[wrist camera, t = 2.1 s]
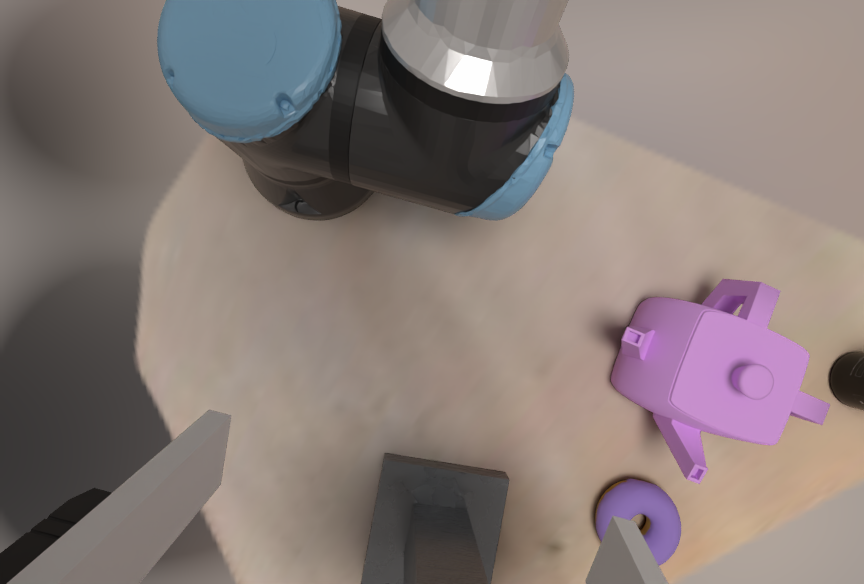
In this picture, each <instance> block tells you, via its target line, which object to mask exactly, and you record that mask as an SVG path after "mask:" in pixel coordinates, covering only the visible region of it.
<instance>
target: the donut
mask: <svg viewBox="0 0 864 584" xmlns="http://www.w3.org/2000/svg"><path fill="white" fill-rule="evenodd" d="M637 514H644V515H645V516H646V524H645V526H644V527H643V529H642V530H640V532H641V534H642V536H643V538H644V539H645V541H646V543H647V545H648V547H649V549H650V551H651V552H652V554H653V556H654V558H655V560H656V562H657V564H658V565H661V564H663V563H664V562H666V561H667V560H668V559H669V558H670V557H671V556H672V554H673V553H674V552H675V550H676V548H677V546H678V544H679V540H680V536H681V522H680V517H679V514H678V511H677V508H676V506H675V504H674V503H673V501H672V500H671V498H670V497H669V496H668V495H667V493H665V492H664V491H663V490H662V489H661V488H659V487H658V486H657V485H654V484H651V483H649V482H646V481H642V480H636V479H627V480H624V481H620V482H618V483H616V484H614V485H612V486H611V487H610V488H608V489H607V490H606V491H605V493H604V494H603V495H602V497H601V498H600V500H599V502H598V505H597V509H596V514H595V524H596V530H597V534H598V536H599V538H600V540H601V542H602V540H603V537H604V535H605V533H606V530H607V528H608V525H609V523H610V520H611V518H612V516H616V517H620V518H624V519H627V520H631V519H632V518H633V517H634V516H635V515H637Z"/></svg>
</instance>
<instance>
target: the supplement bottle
mask: <svg viewBox="0 0 864 584" xmlns="http://www.w3.org/2000/svg"><path fill="white" fill-rule="evenodd" d="M830 381H831V387H832V390H833V392H834V394H835V396H836V397H837V398H838V399H839V400H840V401H841V402H842V403H844V404H845V405H847V406H850V407H853V408H856V409H860V410H864V352H853V353H849V354H847V355H845V356H843V357H842V358H840V359H839V360H838V361H837V362H836V364H835V365H834V367H833V369H832V372H831V378H830Z"/></svg>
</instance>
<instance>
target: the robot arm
mask: <svg viewBox="0 0 864 584" xmlns="http://www.w3.org/2000/svg"><path fill="white" fill-rule="evenodd" d="M567 3H568V0H388V1H387V2H386V4H385V6H384V10H383V14H382V19H380V18H376V17H373V16H369V15H366V14H363V13H359V12H356V11H353V10H349V9H346V8H343V7H339V6H337V3H336V0H166V2H165V5H164V7H163V10H162V13H161V17H160V21H159V26H158V37H157V46H158V56H159V61H160V65H161V69H162V72H163V75H164V77H165V79H166V82H167V84H168V86H169V87H170V89H171V91H172V92H173V94H174V96H175V97H176V98H177V100H178V101H179V102H180V103H181V105H182V106H183V107H184V108H185V109H186V110H187V111H188V112H189V114H190V116H191V117H192V118H193V119H194V121H195V122H196V123H198V124H199V125H200V127H201V128H202V129H205V130H206V131H207V132H208V133H209V134H211V135H214V136H215V137H217V138H218V139H219V140H220V141H222V142H223V143H224V144H225V145H227V146H228V147H229V148H230V149H232V150H233V151H234V152H235V153H237V154H238V155H239V156H240V157H242V158H243V162H244V166H245V169H246V171H247V173H248V176H249V177H250V179H251V181H252V183H253V184H254V186H255V187H256V188H257V190H258V191H259V192H260V193H261V194H262V195H263V196H264V197H265V198H266V199H267V200H268V201H269V202H271V203H272V204H273V205H275V206H276V207H278V208H279V209H281V210H283V211H284V212H286V213H288V214H291V215H293V216H296V217H299V218H303V219H309V220H327V219H333V218H337V217H340V216H343V215H345V214H347V213H349V212H351V211H353V210H355V209H356V208H358V207H359V206H360V205H361V204H363V203H364V202H365V201H366V200H367V199H368V198H369V197H370V195H371V194H372V193H373V191H375V192H378V193H382V194H385V195H389V196H392V197H396V198H400V199H403V200H407V201H410V202H414V203H417V204H421V205H424V206H428V207H431V208H435V209H438V210H442V211H445V212H449V213H452V214H454V215H457V216H462V217H463V216H471V217H476V218H481V219H486V220H495V221H496V220H502V219H505V218H508V217H510V216H512V215H513V214H515V213H516V212H517V211H519V210H520V209H521V208H522V207H523V206H524V205H525V204H526V203H527V201H528V200H529V199H530V198H531V197H532V195H533V194H534V193H535V191H536V190H537V188H538V187H539V185H540V184H541V182H542V181H543V179H544V177H545V176H546V174H547V172H548V170H549V168H550V167H551V164H552V161H553V153H554V152H555V151H556V149H557V148H558V147H559V146H560V144H561V142H562V140H563V137H564V135H565V132H566V130H567V126H568V123H569V120H570V116H571V111H572V107H573V99H574V86H573V83H572V80H571V78H570V77H569V76H568V75H567V74H566V73H565V71H566V69H567V66H568V61H569V52H568V46H567V43H566V40H565V38H564V36H563V33H562V31H561V28H560V26H559V22H560V19H561V17H562V14H563V12H564V9H565V7H566V5H567ZM230 422H231V415H228V414H224V413H220V412H216V411H212V410H208V411H207V412H206V413H205V414H204V415H203V416H201V417H200V418H199V419H198V420H197V421H196V422H194V423H193V424H192V425H191V426H190V427H189V428H187V429H186V430H185V431H184V432H183V433H182V434H180V435H179V436H178V437H177V438H176V439H175V440H173V441H172V442H171V443H170V444H169V445H168V446H166V447H165V448H164V449H163V450H162V451H161V452H159V453H158V454H157V455H156V456H155V457H154V458H152V459H151V460H150V461H149V462H148V463H147V464H145V466H143V467H142V468H141V469H140V470H138V471H137V472H136V473H135V474H134V475H133V476H131V477H130V478H129V479H128V480H127V481H126V482H124V484H122V485H121V486H120V487H119V488H117V489H116V490H115V491H114V492H113V493H111V492H107V491H104V490H100V489H96V488H93V489H91V490H89V491H87V492H85V493H83V494H80V495H78V496H76V497H74V498H72V499H70V500H68V501H67V502H66V503H64V504H63V505H62V506H60V507H59V508H58V509H57V510H55V511H54V512H53V513H52V514H50V515H49V517H48V518H47V519H44V520H43V521H41V522H40V523H39V524H37V525H36V526H35V527H33V528H32V529H31V531H30V532H29V533H26V534H24V536H22V537H21V538H19V539H18V540H17V541H16V542H15V543H13V544H12V545H11V546H9V547H8V548H7V549H5V550H4V551H3V552H1V553H0V584H139V583H140V582H141V581H142V579H143V578H144V577H145V576H146V575H147V573H148V572H149V571H150V570H151V569H152V567H153V566H154V565H155V564H156V562H157V561H158V560H159V559H160V558H161V556H162V555H163V554H164V553H165V552H166V550H167V549H168V548H169V547H170V546H171V544H172V543H173V542H174V540H175V539H176V538H177V537H178V536H179V535H180V533H181V532H182V531H183V530H184V528H185V527H186V526H187V525H188V524H189V522H190V521H191V520H192V519H193V518H194V516H195V515H196V514H197V513H198V512H199V510H200V509H201V508H202V507H203V506H204V504H205V503H206V502H207V501H208V499H209V498H210V497H211V496H212V495H213V493H214V492H215V491H216V490H217V489H218V487H219V486H220V485H221V479H222V473H223V466H224V460H225V453H226V447H227V441H228V434H229V428H230ZM586 584H668V582H667V580H666V578H665V577H664V575H663V573H662V571H661V569H660V567H659V565H658V564H657V562H656V560H655V558H654V556H653V554H652V552H651V551H650V549H649V547H648V545H647V543H646V541H645V539H644V538H643V536H642V534H641V532H640V530H639V528H638V526H637V524H636V523H635V521H631V520H627V519H624V518H620V517H616V516H612V518H611V520H610V523H609V525H608V528H607V530H606V533H605V535H604V537H603V540H602V542H601V545H600V547H599V549H598V552H597V554H596V557H595V559H594V562H593V564H592V566H591V569H590V571H589V574H588V576H587V578H586Z"/></svg>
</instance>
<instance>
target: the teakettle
mask: <svg viewBox="0 0 864 584" xmlns="http://www.w3.org/2000/svg"><path fill="white" fill-rule="evenodd" d="M779 294H780V291H779V290H777V289H775V288H773V287H771V286H768V285H766V284H764V283H762V282H753V281H742V280H730V279H722V281H721V282H720V283H719V284H718V285H717V286H716V288H715V289H714V290H713V291H712V292H711V294H710V295H709V296H708V297H707V298H706V299H705V301H704V302H703V303H702V304H701V305H700V304H696V303H692V302H688V301H683V300H679V299H673V298H663V297H653V298H649V299H646V300H645V301H643V302H641V303H640V304H639V306H638V308H637V310H636V312H635V314H634V316H633V318H632V320H631V323H630V325H629V327H626V329H625V332H624V334H623V336H622V339H621V347H620V350H619V353H618V356H617V359H616V361H615V364H614V368H613V371H612V374H611V382H612V384H613V386H614V387H615V389H616V390H617V391H618V392H620V393H621V394H622V395H623V396H625V397H627V398H628V399H630V400H631V401H633V402H635V403H636V404H638V405H640V406H641V407H643V408H645V409H647V410H649V411H651V412H653V418H654V420H655V422H656V424H657V426H658V428H659V429H660V431H661V433H662V435H663V437H664V439H665V441H666V443H667V444H668V446H669V448H670V450H671V452H672V454H673V456H674V458H675V459H676V461H677V463H678V465H679V467H680V469H681V471H682V473H683V474H684V476H685V478H686V479H688V480H690V481H693V482H696V483H698V484H700V482H701V481H702V479H703V477H704V475H705V474H706V472H707V470H708V468H707V467H706V463H705V457H704V452H703V447H702V442H701V436H700V432H701V431H704V432H708V433H712V434H716V435H719V436H723V437H727V438H732V439H737V440H741V441H746V442H752V443H757V444H763V445H774V444H776V443H777V442H778V440H779V438H780V436H781V434H782V432H783V430H784V427H785V425H786V423H787V420H788V418H789V416H790V415H791V416H794V417H797V418H801V419H804V420H807V421H811V422H814V423H817V424H820V425H822V424H823V422H824V419H825V417H826V414H827V412H828V409H829V407H830V404H828V403H826V402H824V401H822V400H819V399H817V398H815V397H813V396H810V395H808V394H806V393H804V392H801V391H799V389H800V386H801V384H802V381H803V378H804V375H805V372H806V368H807V365H808V361H809V357H810V356H809V353H808V352H807V351H806V350H805V349H804V348H803V347H801V346H800V345H798V344H796V343H795V342H793V341H791V340H789V339H787V338H786V337H784V336H782V335H780V334H778V333H775V332H773V331H771V330H769V329H767V327H768V324H769V321H770V319H771V316H772V313H773V310H774V308H775V305H776V302H777V300H778V297H779ZM741 304H743V306H742V308H741V310H740V312H739V314H738V316H735V315H732V314H733V313H734V311H735V310H736V309H737V308H738V307H739V306H740V305H741Z"/></svg>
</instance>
